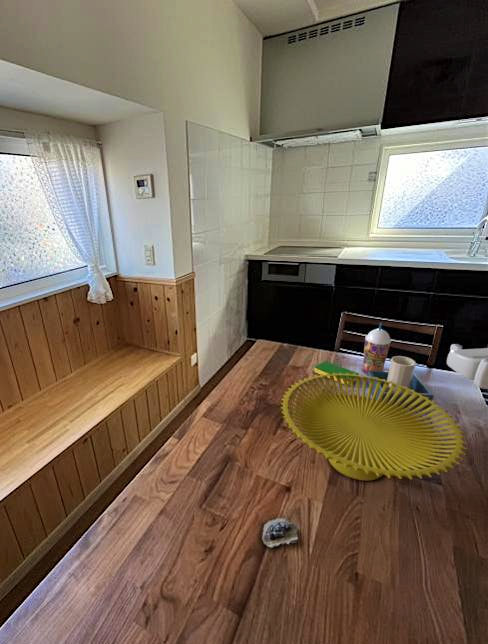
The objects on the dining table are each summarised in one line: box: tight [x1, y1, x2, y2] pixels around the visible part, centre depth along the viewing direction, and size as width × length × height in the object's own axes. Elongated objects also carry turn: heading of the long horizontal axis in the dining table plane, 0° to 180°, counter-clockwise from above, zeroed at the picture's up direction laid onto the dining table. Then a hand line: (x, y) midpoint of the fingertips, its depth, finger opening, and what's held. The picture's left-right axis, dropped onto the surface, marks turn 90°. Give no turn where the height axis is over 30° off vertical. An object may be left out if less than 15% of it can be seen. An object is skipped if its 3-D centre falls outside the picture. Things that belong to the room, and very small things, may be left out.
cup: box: [386, 355, 417, 393], centre depth 111 cm, size 7×7×12 cm
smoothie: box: [362, 322, 392, 374], centre depth 124 cm, size 8×8×20 cm
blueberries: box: [261, 517, 299, 548], centre depth 71 cm, size 7×8×2 cm
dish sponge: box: [314, 360, 360, 387], centre depth 126 cm, size 7×14×2 cm, turn 37°
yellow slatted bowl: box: [279, 373, 468, 482], centre depth 86 cm, size 40×40×15 cm
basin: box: [366, 370, 435, 409], centre depth 113 cm, size 15×15×5 cm
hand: (472, 345), depth 86 cm, fingers open, 8 cm apart
